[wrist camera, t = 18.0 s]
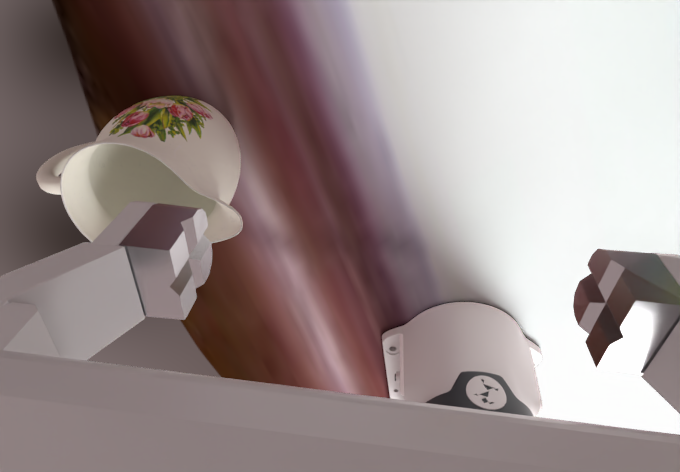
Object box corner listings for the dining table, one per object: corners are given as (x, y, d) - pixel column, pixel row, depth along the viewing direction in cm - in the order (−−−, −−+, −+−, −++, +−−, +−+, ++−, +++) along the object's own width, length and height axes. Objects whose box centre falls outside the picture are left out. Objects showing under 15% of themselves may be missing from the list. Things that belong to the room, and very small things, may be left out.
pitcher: (79, 71, 41) (-42, 132, 29) (279, 81, 39) (233, 148, 28) (112, 181, 47) (23, 265, 36) (285, 193, 46) (250, 284, 35)
